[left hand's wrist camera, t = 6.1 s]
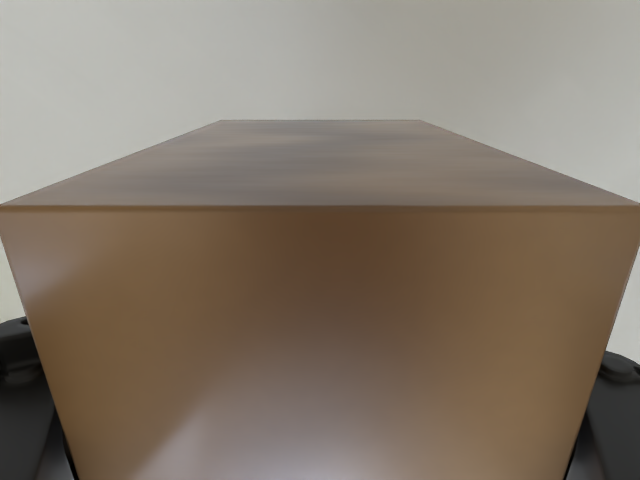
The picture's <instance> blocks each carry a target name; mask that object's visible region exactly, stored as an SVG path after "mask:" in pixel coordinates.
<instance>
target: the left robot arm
mask: <svg viewBox="0 0 640 480" xmlns="http://www.w3.org/2000/svg"><path fill="white" fill-rule="evenodd" d="M0 480H79V478H78V475H77V472H76V469H75V466H74V463H73V460H72V456H71V453H70V450H69V447H68V444H67V441H66V438H65V435H64V432H63V429H62V426H61V422H60V419H59V416H58V413H57V410H56V407H55V404H54V401H53V398H52V395H51V392H50V388H49V385H48V382H47V379H46V376H45V373H44V370H43V367H42V364H41V361H40V358H39V354H38V351H37V348H36V345H35V342H34V339H33V336H32V333H31V330H30V327H29V324H28V320H27V317H21V318H17V319H13V320H9V321H6V322H4V323H1V324H0ZM563 480H640V365H639V364H637V363H636V362H634V361H632V360H630V359H628V358H626V357H624V356H621V355H619V354H615V353H612V352H608V351H605V353H604V356H603V359H602V362H601V365H600V368H599V371H598V374H597V378H596V381H595V384H594V387H593V390H592V393H591V396H590V399H589V402H588V405H587V408H586V411H585V414H584V417H583V420H582V423H581V427H580V430H579V433H578V436H577V439H576V442H575V445H574V448H573V451H572V454H571V457H570V460H569V463H568V466H567V469H566V473H565V476H564V479H563Z"/></svg>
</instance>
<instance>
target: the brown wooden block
mask: <svg viewBox="0 0 640 480" xmlns="http://www.w3.org/2000/svg"><path fill="white" fill-rule="evenodd" d="M0 237H1V240H2V243H3V246H4V249H5V252H6V255H7V259H8V262H9V265H10V268H11V271H12V274H13V277H14V280H15V283H16V286H17V289H18V293H19V296H20V299H21V302H22V305H23V308H24V311H25V314H26V317H27V320H28V324H29V327H30V330H31V333H32V336H33V339H34V342H35V345H36V348H37V351H38V354H39V358H40V361H41V364H42V367H43V370H44V373H45V376H46V379H47V382H48V385H49V388H50V392H51V395H52V398H53V401H54V404H55V407H56V410H57V413H58V416H59V419H60V422H61V426H62V429H63V432H64V435H65V438H66V441H67V444H68V447H69V450H70V453H71V456H72V460H73V463H74V466H75V469H76V472H77V475H78V478H79V480H563V479H564V476H565V473H566V469H567V466H568V463H569V460H570V457H571V454H572V451H573V448H574V445H575V442H576V439H577V436H578V433H579V430H580V427H581V423H582V420H583V417H584V414H585V411H586V408H587V405H588V402H589V399H590V396H591V393H592V390H593V387H594V384H595V381H596V378H597V374H598V371H599V368H600V365H601V362H602V359H603V356H604V353H605V350H606V347H607V344H608V341H609V338H610V335H611V332H612V328H613V325H614V322H615V319H616V316H617V313H618V310H619V307H620V304H621V301H622V298H623V295H624V292H625V289H626V286H627V283H628V279H629V276H630V273H631V270H632V267H633V264H634V261H635V258H636V255H637V252H638V249H639V246H640V203H638V202H635V201H632V200H630V199H627V198H624V197H622V196H619V195H617V194H614V193H611V192H609V191H606V190H603V189H601V188H598V187H595V186H593V185H590V184H587V183H585V182H582V181H580V180H577V179H574V178H572V177H569V176H566V175H564V174H561V173H558V172H556V171H553V170H551V169H548V168H545V167H543V166H540V165H537V164H535V163H532V162H529V161H527V160H524V159H521V158H519V157H516V156H514V155H511V154H508V153H506V152H503V151H500V150H498V149H495V148H492V147H490V146H487V145H485V144H482V143H479V142H477V141H474V140H471V139H469V138H466V137H463V136H461V135H458V134H455V133H453V132H450V131H448V130H445V129H442V128H440V127H437V126H434V125H432V124H429V123H426V122H424V121H421V120H220V121H217V122H214V123H212V124H209V125H207V126H204V127H201V128H199V129H196V130H194V131H191V132H188V133H186V134H183V135H180V136H178V137H175V138H173V139H170V140H167V141H165V142H162V143H160V144H157V145H154V146H152V147H149V148H146V149H144V150H141V151H139V152H136V153H133V154H131V155H128V156H126V157H123V158H120V159H118V160H115V161H112V162H110V163H107V164H105V165H102V166H99V167H97V168H94V169H92V170H89V171H86V172H84V173H81V174H78V175H76V176H73V177H71V178H68V179H65V180H63V181H60V182H58V183H55V184H52V185H50V186H47V187H44V188H42V189H39V190H37V191H34V192H31V193H29V194H26V195H24V196H21V197H18V198H16V199H13V200H10V201H8V202H5V203H3V204H0Z"/></svg>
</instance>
